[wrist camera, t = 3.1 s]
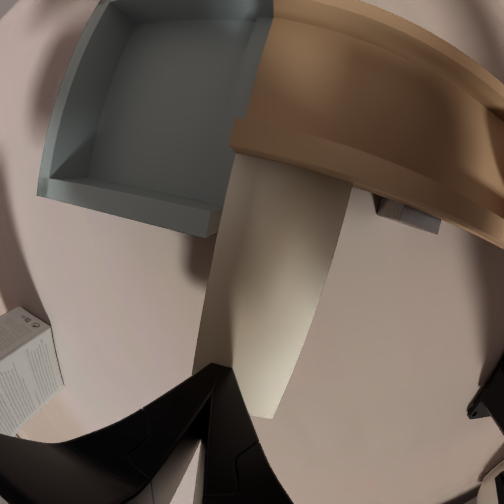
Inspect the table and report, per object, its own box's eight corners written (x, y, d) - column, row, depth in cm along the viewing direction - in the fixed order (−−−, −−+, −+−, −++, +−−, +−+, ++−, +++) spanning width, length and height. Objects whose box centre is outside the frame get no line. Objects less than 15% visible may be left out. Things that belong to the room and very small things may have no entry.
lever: (533, 150, 6) (568, 150, 3) (445, 411, 9) (463, 441, 6) (277, 18, 6) (277, -28, 4) (193, 385, 9) (175, 431, 7)
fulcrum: (430, 98, 8) (457, 82, 6) (409, 225, 10) (437, 234, 7) (400, 85, 9) (422, 63, 6) (376, 214, 10) (399, 220, 8)
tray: (280, 17, 8) (277, -23, 6) (226, 226, 11) (205, 238, 8) (131, 19, 9) (103, -6, 6) (79, 192, 11) (36, 195, 8)
